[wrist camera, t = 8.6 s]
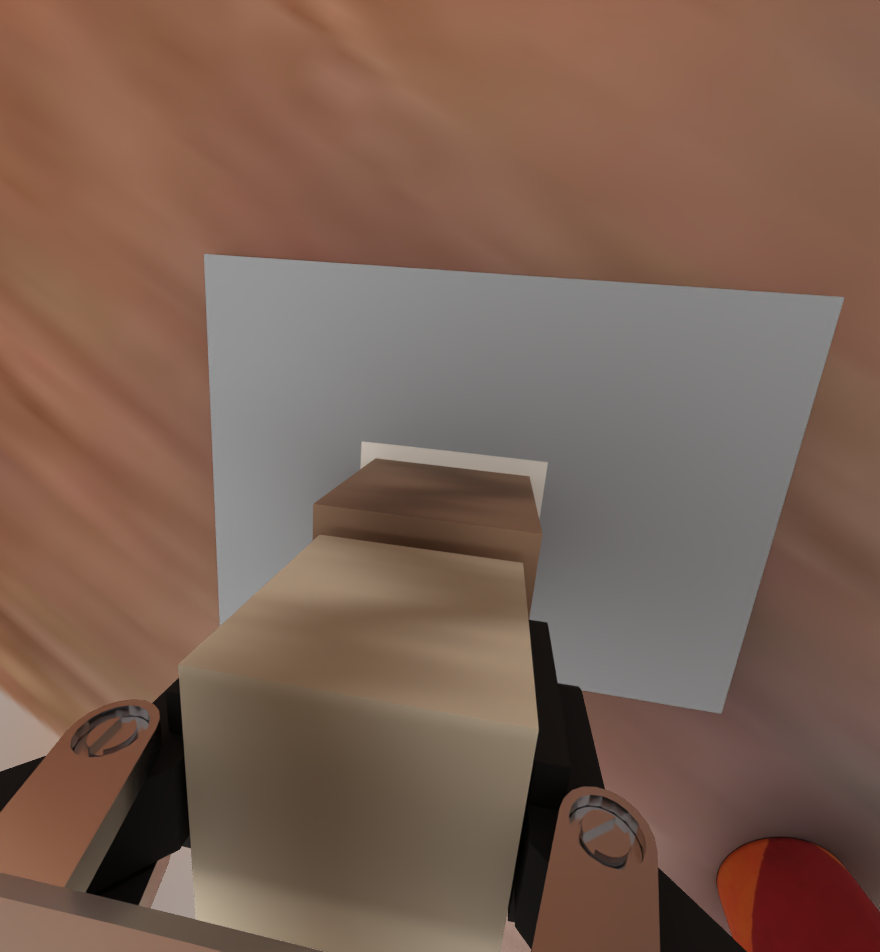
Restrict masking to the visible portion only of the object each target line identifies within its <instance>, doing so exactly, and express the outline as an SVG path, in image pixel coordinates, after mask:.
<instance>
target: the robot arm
mask: <svg viewBox="0 0 880 952" xmlns="http://www.w3.org/2000/svg"><path fill="white" fill-rule="evenodd" d="M528 620H529V619H528ZM529 631H530V641H531V652H532V663H533V673H534V684H535V694H536V705H537V716H538V726H539V731H538V737H537V742H536V748H535V754H534V760H533V766H532V771H531V777H530V783H529V789H528V794H527V800H526V806H525V812H524V818H523V823H522V829H521V835H520V841H519V846H518V852H517V858H516V864H515V870H514V875H513V881H512V887H511V893H510V898H509V904H508V921H511V922H515V927H516V929H517V930H518V931H519V933H520V934H521V936H522V937H523V938H524V940H525V941H526V943H527V944H528V945H529V947H530V948H531V952H747V951H746V950H745V949H744V948H743V947H742V946H741V945H740V944H739V943H737V942H736V941H735V940H734V939H733V938H732V937H731V936H730V935H729V934H728V933H727V932H726V931H725V930H724V929H723V928H722V927H721V926H719V925H718V924H717V923H716V922H715V921H714V920H713V919H712V918H711V917H710V916H709V915H708V914H707V913H706V912H705V911H704V910H703V909H702V908H700V907H699V906H698V905H697V904H696V903H695V902H694V901H693V900H692V899H691V898H690V897H689V896H688V895H687V894H686V893H685V892H684V891H682V890H681V889H680V888H679V887H678V886H677V885H676V884H675V883H674V882H673V881H672V880H671V879H670V878H669V877H668V876H667V875H666V874H665V873H663V872H662V871H661V870H660V869H659V868H658V854H657V847H656V842H655V837H654V835H653V833H652V831H651V829H650V827H649V825H648V823H647V822H646V821H645V819H644V818H643V817H642V816H641V814H640V813H639V812H638V811H637V809H635V808H634V807H633V806H632V805H631V804H629V803H628V802H627V801H626V800H625V799H623V798H622V797H620V796H618V795H616V794H614V793H613V792H611V791H608V790H605V788H604V784H603V780H602V775H601V771H600V767H599V762H598V758H597V754H596V750H595V745H594V741H593V737H592V733H591V728H590V724H589V720H588V716H587V711H586V707H585V703H584V699H583V694H582V691H581V688H580V687H579V686H573V685H567V684H561V683H558V682H557V676H556V670H555V664H554V658H553V652H552V645H551V639H550V633H549V627H548V623H547V622H542V621H535V620H529ZM182 846H184V847H188V848H191V841H190V827H189V813H188V799H187V784H186V770H185V756H184V741H183V727H182V713H181V699H180V684H179V678H178V679H177V680H176V681H175V682H174V683H173V684H172V685H171V686H170V687H169V688H168V689H167V690H166V691H165V692H164V693H162V694H161V695H160V696H159V697H158V698H157V699H156V700H155V701H154V702H153V703H150V702H147V701H145V700H134V699H132V700H124V701H118V702H115V703H111V704H108V705H105V706H102V707H100V708H98V709H96V710H94V711H92V712H90V713H88V714H87V715H85V716H84V717H82V718H81V719H79V720H78V721H76V722H75V723H74V724H73V725H72V726H71V727H70V728H69V729H68V730H67V731H66V732H65V733H64V735H63V736H62V737H61V738H60V740H59V741H58V742H57V743H56V745H55V746H54V747H53V748H52V750H51V751H50V752H49V753H48V754H47V756H44V757H41V758H38V759H35V760H32V761H30V762H27V763H24V764H21V765H18V766H15V767H13V768H9V769H7V770H4V771H1V772H0V952H324V951H320V950H316V949H312V948H308V947H304V946H300V945H296V944H292V943H288V942H284V941H280V940H276V939H272V938H268V937H264V936H260V935H256V934H252V933H248V932H244V931H240V930H236V929H232V928H228V927H224V926H220V925H215V924H211V923H207V922H203V921H199V920H195V919H191V918H187V917H183V916H179V915H175V914H171V913H167V912H163V911H159V910H155V909H151V905H152V903H153V900H154V898H155V895H156V893H157V890H158V888H159V885H160V883H161V881H162V878H163V876H164V873H165V870H166V868H167V866H168V863H169V859H170V855H171V854H172V853H174V852H176V851H178V850H180V848H181V847H182Z"/></svg>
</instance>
